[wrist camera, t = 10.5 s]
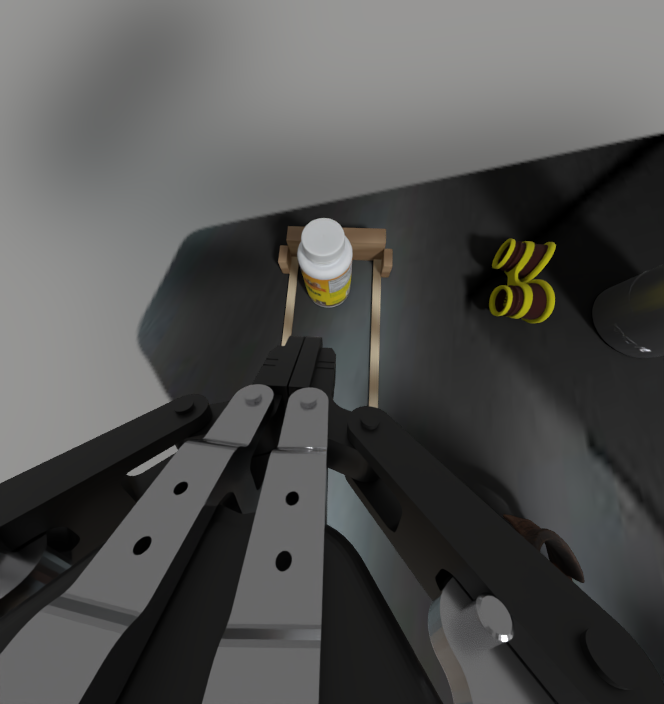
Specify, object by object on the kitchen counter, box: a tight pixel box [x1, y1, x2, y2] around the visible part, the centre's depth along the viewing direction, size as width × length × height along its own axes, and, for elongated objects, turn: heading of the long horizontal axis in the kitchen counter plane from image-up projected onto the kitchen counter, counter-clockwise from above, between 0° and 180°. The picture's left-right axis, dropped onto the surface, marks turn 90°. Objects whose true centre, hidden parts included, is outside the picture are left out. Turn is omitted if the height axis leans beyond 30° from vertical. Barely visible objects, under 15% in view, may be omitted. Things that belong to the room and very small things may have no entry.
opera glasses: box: [489, 239, 556, 323], centre depth 28 cm, size 10×5×5 cm, turn 168°
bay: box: [278, 226, 392, 408], centre depth 29 cm, size 22×14×4 cm, turn 176°
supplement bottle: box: [297, 218, 353, 307], centre depth 27 cm, size 6×6×10 cm
